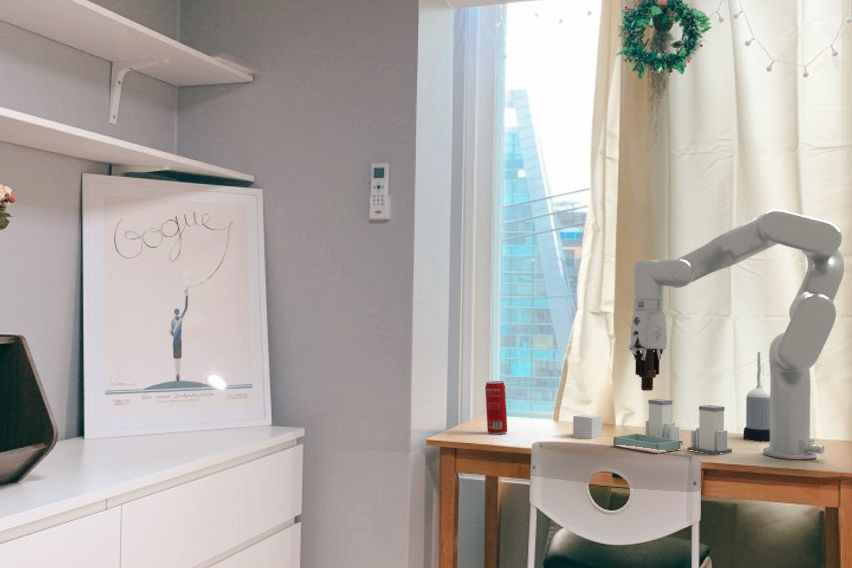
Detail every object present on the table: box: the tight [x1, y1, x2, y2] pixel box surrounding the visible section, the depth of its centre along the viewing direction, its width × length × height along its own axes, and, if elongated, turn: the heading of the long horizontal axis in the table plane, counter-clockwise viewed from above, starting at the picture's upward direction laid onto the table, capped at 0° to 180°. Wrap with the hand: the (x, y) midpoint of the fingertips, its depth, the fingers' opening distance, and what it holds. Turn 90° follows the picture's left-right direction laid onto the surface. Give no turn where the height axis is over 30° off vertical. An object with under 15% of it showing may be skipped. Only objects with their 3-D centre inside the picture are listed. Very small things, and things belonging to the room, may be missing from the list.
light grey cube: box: [572, 413, 603, 440], centre depth 250 cm, size 6×6×6 cm
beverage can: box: [484, 380, 508, 435], centre depth 254 cm, size 6×6×15 cm
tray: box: [613, 433, 681, 452], centre depth 232 cm, size 14×10×2 cm
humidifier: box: [742, 351, 770, 443], centre depth 250 cm, size 8×8×25 cm
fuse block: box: [644, 398, 733, 456], centre depth 234 cm, size 23×8×12 cm, turn 39°
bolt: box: [638, 336, 658, 392], centre depth 232 cm, size 6×5×15 cm
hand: (647, 374), depth 232 cm, fingers closed on bolt, 4 cm apart
